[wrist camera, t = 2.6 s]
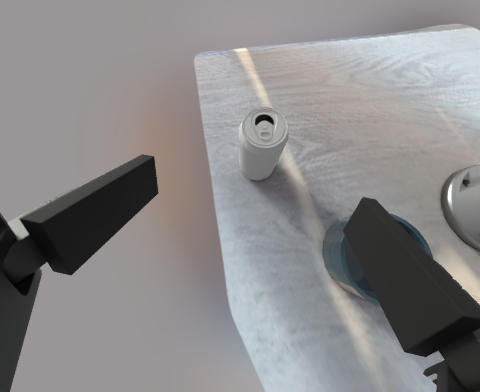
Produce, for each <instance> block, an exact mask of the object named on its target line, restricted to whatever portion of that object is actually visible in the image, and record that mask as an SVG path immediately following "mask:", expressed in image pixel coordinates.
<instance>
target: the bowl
mask: <svg viewBox="0 0 480 392" xmlns="http://www.w3.org/2000/svg"><path fill="white" fill-rule="evenodd" d="M390 215H391V216H392V217H393V218H394V219H395V220H396V221H397V222H398V224H399V225H400V226H401V227H402V228H403V229H404V230H405V231H406V232H407V233H408V234H409V235H410V236H411V237H412V238H413V239H414V240H415V241H416V242H417V243H418V245H419V246H420V247H421V248H422V249H423V250H424V251H425V252H426V253H427V254H428V255H429V256H430V257H431V258H432V259H433V256H432V254H431V251H430V248H429V246H428V243H427V242H426V240H425V239H424V238H423V236H422V235H421V233H420V232H419V231H418V230H417V229H416V228H415V227H413V226H412V225H411V224H410V223H409V222H407V221H406V220H404V219H402V218H400V217H398V216H395V215H393V214H390ZM350 218H351V217H347V218H344V219H342V220H340V221H338V222H336V223H335V224H334V225H333V226H332V227H331V228H330V229H329V230H328V232H327V234H326V236H325V239H324V241H323V258H324V262H325V266H326V268H327V270H328V272H329V273H330V275H331V277H332V278H333V279H334V280H335V281H336V282H337V283H338V284H339V285H340V286H341V287H342V288H343V289H345V290H347V291H349V292H351V293H353V294H355V295H357V296H359V297H361V298H363V299H365V300H367V301H369V302H371V303H373V304H375V305H377V306H379V307H381V305H380V303H379V301H378V299H377V297H376V295H375V293H374V291H373V289H372V288H371V286H370V284H369V282H368V280H367V278H366V276H365V274H364V272H363V270H362V268H361V266H360V264H359V262H358V260H357V258H356V256H355V254H354V252H353V250H352V248H351V246H350V244H349V243H348V241H347V239H346V237H345V235H344V233H343V229H344V227H345V226H346V224H347V223H348V221H349V219H350Z"/></svg>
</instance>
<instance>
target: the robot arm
mask: <svg viewBox="0 0 480 392" xmlns="http://www.w3.org/2000/svg"><path fill="white" fill-rule="evenodd" d="M157 194H158V186H157V177H156V169H155V160H154V156H148V155H141V156H138V157H137V158H135V159H133V160H131V161H129V162H127V163H125V164H123V165H121V166H119V167H117V168H115V169H113V170H112V171H110V172H108V173H106V174H104V175H102V176H100V177H98V178H96V179H94V180H92V181H90V182H89V183H87V184H85V185H83V186H81V187H78V188H75V189H71V190H69V191H67V192H65V193H63V194H61V195H59V197H55V198H53V199H52V200H50V201H49V202H46V203H44V204H42V205H40V206H38V207H36V208H34V209H32V210H30V211H28V212H26V213H24V214H22V215H20V216H18V217H16V218H14V219H12V220H10V221H8V222H6V220H5V219H4V218H3V216H2V215H1V213H0V392H10V389H11V385H12V382H13V378H14V375H15V371H16V367H17V363H18V360H19V356H20V352H21V348H22V345H23V341H24V337H25V334H26V331H27V327H28V323H29V319H30V316H31V312H32V309H33V305H34V301H35V298H36V294H37V290H38V287H39V283H40V279H41V275H42V273H41V270H40V267H41V266H42V265H44V264H45V263H46V262H48V264H49V265H50V267H51V268H52V270H53V271H54V272H59V273H63V274H67V275H72V274H73V273H74V272H75V271H76V270H78V269H79V268H80V267H81V266H82V265H83V264H84V263H85V262H86V261H87V260H88V259H89V258H90V257H91V256H92V255H93V254H94V253H95V252H97V251H98V250H99V249H100V248H101V247H102V246H103V245H104V244H105V243H106V242H107V241H108V240H109V239H110V238H111V237H112V236H114V235H115V234H116V233H117V232H118V231H119V230H120V229H121V228H122V227H123V226H124V225H125V224H126V223H127V222H128V221H129V220H131V219H132V218H133V217H134V216H135V215H136V214H137V213H138V212H139V211H140V210H141V209H142V208H143V207H144V206H145V205H146V204H147V203H149V202H150V201H151V200H152V199H153V198H154V197H155V196H156V195H157ZM441 205H442V209H443V213H444V215H445V218H446V220H447V222H448V223H449V225H450V226H451V228H452V229H453V230H454V232H455V233H456V234H457V235H458V236H459V237H460V238H461V239H462V240H464V241H465V242H466V243H467V244H469V245H470V246H472V247H474V248H476V249H478V250H480V165H476V166H472V167H469V168H466V169H462V170H459V171H457V172H455V173H454V174H452V175H451V176H450V177H449V178H448V179H447V180H446V182H445V184H444V186H443V189H442V193H441ZM343 233H344V235H345V237H346V239H347V241H348V243H349V244H350V246H351V248H352V250H353V252H354V254H355V256H356V258H357V260H358V262H359V264H360V266H361V268H362V270H363V272H364V274H365V276H366V278H367V280H368V282H369V284H370V286H371V288H372V289H373V291H374V293H375V295H376V297H377V299H378V301H379V303H380V305H381V307H382V309H383V311H384V313H385V315H386V317H387V319H388V321H389V323H390V325H391V327H392V329H393V331H394V333H395V334H396V336H397V338H398V340H399V342H400V344H401V346H402V348H403V350H404V352H406V353H411V354H415V355H420V356H424V357H427V356H428V355H430V354H432V353H434V352H436V351H438V350H439V352H440V353H441V355H442V356H443V358H444V359H445V360H444V361H442V362H440V363H438V364H436V365H434V366H431V367H429V368H427V369H425V371H424V373H423V374H424V375H425V376H427V377H428V376H430V375H432V374H434V373H436V374H438V375H437V379H435V380H433V382H434V383H435V384H436V385H437V390H436V392H480V305H479V304H478V303H477V302H476V301H475V300H474V299H473V298H472V297H471V296H470V295H469V294H468V293H467V292H466V291H465V290H464V289H462V286H461V285H460V284H459V283H458V282H457V281H456V280H454V279H452V278H453V277H452V276H451V275H450V274H449V273H448V272H447V271H446V270H445V269H444V268H443V267H442V266H441V265H440V264H438V263H437V262H436V261H434V260H433V259H432V258H431V257H430V256H429V255H428V254H427V253H426V252H425V251H424V250H423V249H422V248H421V247H420V246H419V245H418V243H417V242H416V241H415V240H414V239H413V238H412V237H411V236H410V235H409V234H408V233H407V232H406V231H405V230H404V229H403V228H402V227H401V226H400V225H399V224H398V222H397V221H396V220H395V219H394V218H393V217H392V216H391V215H390V214H389V213H388V212H387V211H386V210H385V209H384V208H383V207H382V206H381V205H380V204H379V203H378V201H377V200H375V199H370V198H365V197H363V198H362V199H361V201H360V203H359V204H358V206H357V208H356V209H355V211H354V213H353V214H352V216H351V218H350V219H349V221H348V223H347V224H346V226H345V227H344V229H343Z"/></svg>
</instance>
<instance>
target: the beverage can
mask: <svg viewBox="0 0 480 392" xmlns="http://www.w3.org/2000/svg"><path fill="white" fill-rule="evenodd" d="M287 140H288V124H287V121H286V119H285V117H284V116H283V115H282V114H281V113H280V112H279V111H277V110H275V109H272V108H269V107H260V108H256V109H253V110H252V111H250V112H249V113H248V114H247V115H246V116H245V117H244V119H243V121H242V123H241V125H240V128H239V165H240V169H241V171H242V173H243V174H244V175H245V176H246V177H248V178H249V179H252V180H262V179H265V178H267V177H268V176H269V175H270V174H271V173H272V172H273V170H274V168H275V166H276V163H277V161H278V159H279V157H280V155H281V153H282V151H283V149H284V147H285V145H286V142H287Z"/></svg>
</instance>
